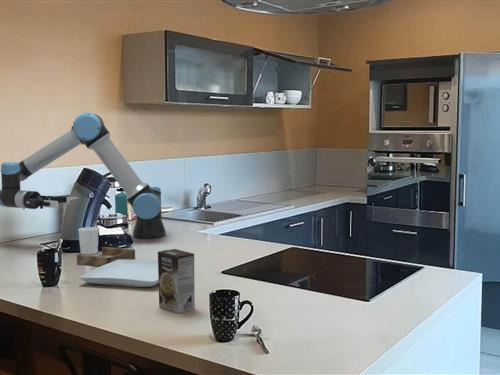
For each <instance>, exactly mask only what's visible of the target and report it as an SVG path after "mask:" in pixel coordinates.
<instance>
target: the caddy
mask: <svg viewBox="0 0 500 375" xmlns="http://www.w3.org/2000/svg"><path fill="white" fill-rule="evenodd" d="M116 260H136V250H135V249H132V248H131V249H130V248H120V247H119V248H118V247H107V246H103V247H101V254H99V255H97V256H96V255H90V254H89V255H84V254H76V265H82V266H92V267H101V266H103V265H106V264H108V263H111V262H113V261H116Z"/></svg>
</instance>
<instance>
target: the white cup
mask: <svg viewBox="0 0 500 375" xmlns="http://www.w3.org/2000/svg"><path fill="white" fill-rule="evenodd" d="M78 238H79V239H78V240H79V241H78V242H79V248H80V255H89V256H90V255H95V254H97V253H98V252H99V247H98V246H99V228H98V227H95V226H92V227H91V226H89V227H80V228H78Z"/></svg>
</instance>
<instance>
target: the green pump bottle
mask: <svg viewBox="0 0 500 375" xmlns="http://www.w3.org/2000/svg"><path fill="white" fill-rule="evenodd" d="M116 192H117V193H116V194H115V195H114V202H115V203H114V204H115V206H114V207H115V208H114V209H115V210H114V211H115V214H116V213H121V214H123V215H126V216H127V217H128V218H129V211H128V209H129V208H128V201H127V199H126V197H127V194H126V192H125V191H124V190H123V189H122V188H120V189H117V188H116ZM118 192H122V193H118ZM123 192H124V193H123Z"/></svg>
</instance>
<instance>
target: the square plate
mask: <svg viewBox="0 0 500 375" xmlns="http://www.w3.org/2000/svg"><path fill="white" fill-rule="evenodd" d="M78 278H79V279H81V280H82V281H84V282H85V283H88V284H94V285H95V284H96V285H103V286H104V285H105V286H118V287H131V286H134V287H136V288H148V287H154V286H156V285H157V284H159V278H158V259H157V260H155V259H132V260H116V261H113V262H111V263H108V264H106V265H103V266H101V267H99V266H97V267H96V268H93V269H92V270H90V271H88V272H86V273H84V274H82V275H80V276H79V277H78Z"/></svg>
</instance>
